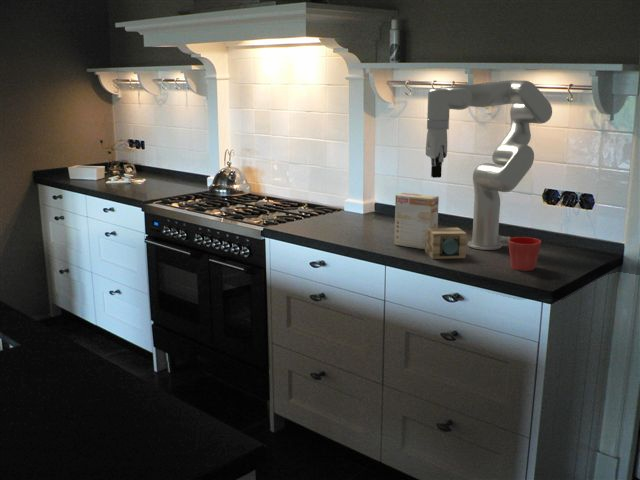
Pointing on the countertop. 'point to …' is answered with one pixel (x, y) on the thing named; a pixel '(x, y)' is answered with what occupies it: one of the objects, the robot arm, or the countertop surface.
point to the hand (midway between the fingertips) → (436, 177)
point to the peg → (449, 246)
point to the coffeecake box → (414, 218)
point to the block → (436, 240)
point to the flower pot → (524, 252)
